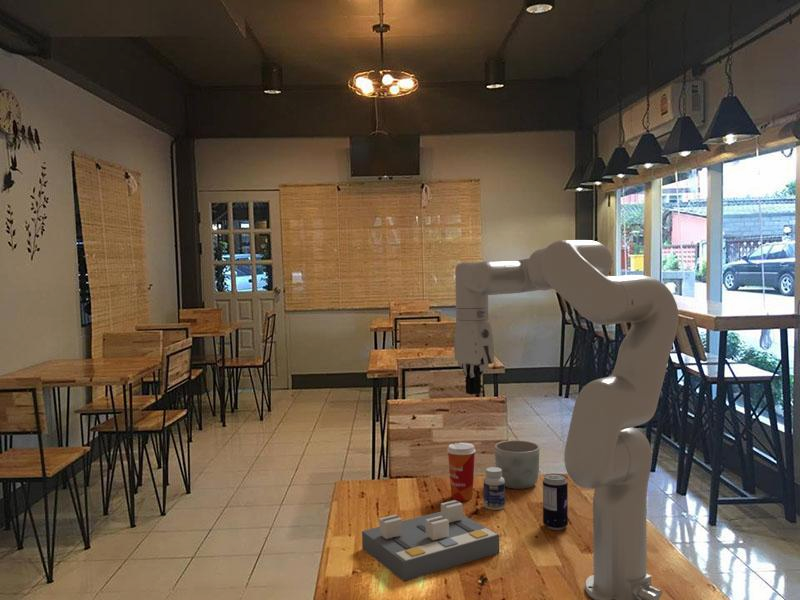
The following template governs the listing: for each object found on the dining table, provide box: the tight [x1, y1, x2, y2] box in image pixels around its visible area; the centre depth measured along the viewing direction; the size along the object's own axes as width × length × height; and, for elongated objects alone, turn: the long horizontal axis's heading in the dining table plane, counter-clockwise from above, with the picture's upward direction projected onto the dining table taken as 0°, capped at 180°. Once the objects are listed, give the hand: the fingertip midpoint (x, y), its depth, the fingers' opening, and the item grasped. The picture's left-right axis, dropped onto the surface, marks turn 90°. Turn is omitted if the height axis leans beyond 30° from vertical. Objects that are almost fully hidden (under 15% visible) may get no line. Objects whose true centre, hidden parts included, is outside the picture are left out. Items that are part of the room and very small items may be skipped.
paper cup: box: [446, 442, 477, 502], centre depth 179 cm, size 8×8×14 cm
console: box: [361, 511, 500, 582], centre depth 147 cm, size 18×24×4 cm
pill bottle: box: [483, 466, 506, 511], centre depth 172 cm, size 5×5×10 cm
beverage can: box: [542, 473, 569, 531], centre depth 159 cm, size 6×6×12 cm
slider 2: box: [426, 516, 449, 540], centre depth 144 cm, size 3×4×4 cm
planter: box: [494, 439, 540, 490], centre depth 189 cm, size 12×12×11 cm
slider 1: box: [378, 514, 403, 539], centre depth 145 cm, size 3×4×4 cm
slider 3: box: [440, 499, 464, 523], centre depth 153 cm, size 3×4×4 cm
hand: (473, 393), depth 158 cm, fingers closed
